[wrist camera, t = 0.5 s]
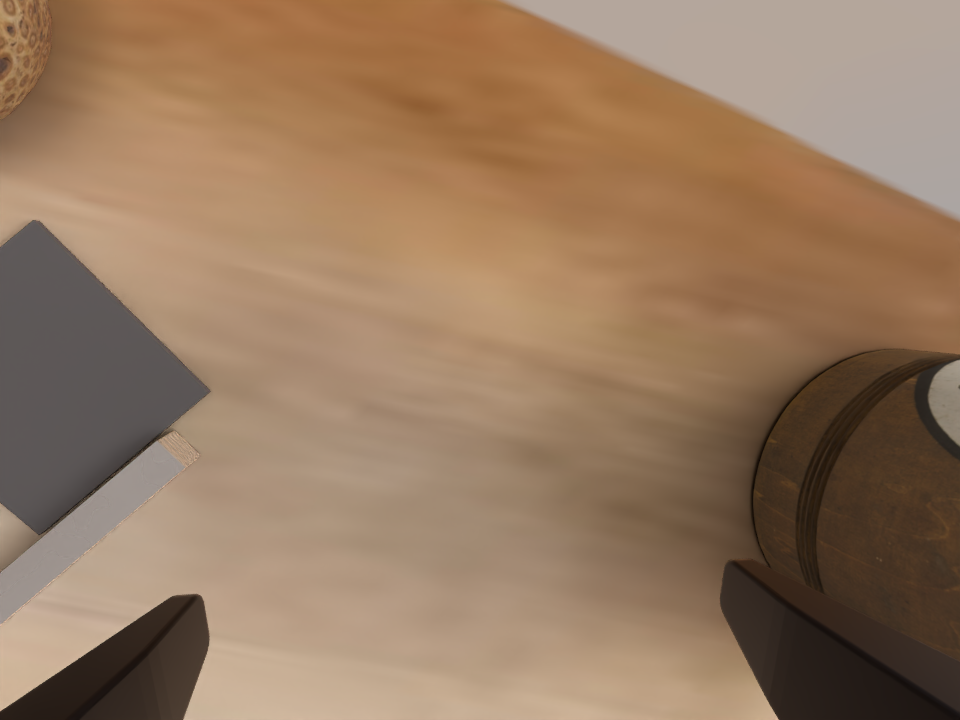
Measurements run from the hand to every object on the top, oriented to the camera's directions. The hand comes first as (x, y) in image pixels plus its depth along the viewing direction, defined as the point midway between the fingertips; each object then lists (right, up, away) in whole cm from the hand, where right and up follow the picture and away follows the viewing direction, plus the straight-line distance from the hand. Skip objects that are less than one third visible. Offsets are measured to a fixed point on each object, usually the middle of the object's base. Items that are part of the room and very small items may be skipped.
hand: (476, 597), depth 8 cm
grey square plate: (-18, +3, +11) cm, 21 cm away
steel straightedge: (-19, -5, +12) cm, 23 cm away
